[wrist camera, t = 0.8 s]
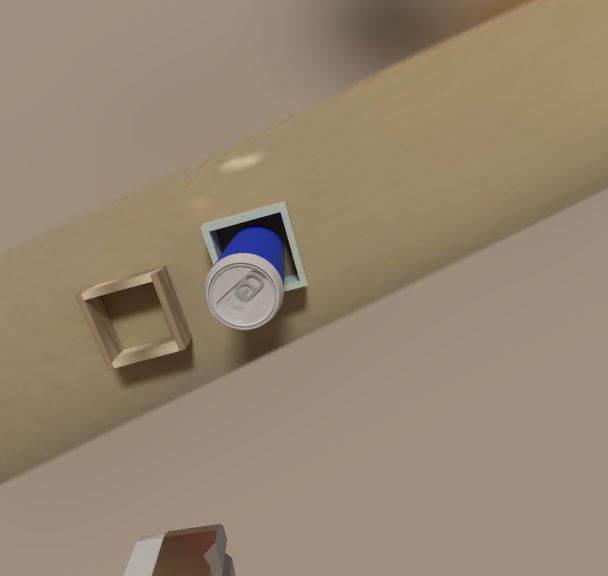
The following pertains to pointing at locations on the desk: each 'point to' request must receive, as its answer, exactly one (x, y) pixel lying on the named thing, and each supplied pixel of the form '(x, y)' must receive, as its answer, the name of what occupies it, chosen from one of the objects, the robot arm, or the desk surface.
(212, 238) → the bin sage
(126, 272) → the desk surface
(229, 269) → the beverage can
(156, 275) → the bin oak
